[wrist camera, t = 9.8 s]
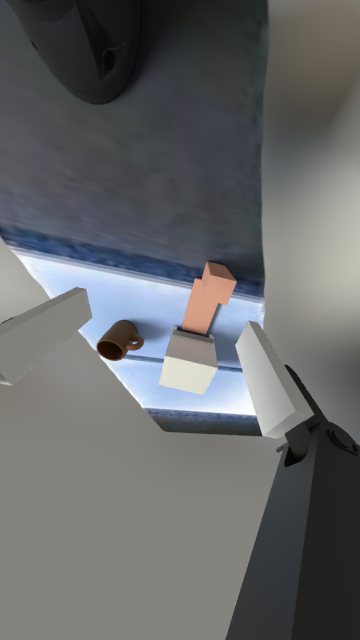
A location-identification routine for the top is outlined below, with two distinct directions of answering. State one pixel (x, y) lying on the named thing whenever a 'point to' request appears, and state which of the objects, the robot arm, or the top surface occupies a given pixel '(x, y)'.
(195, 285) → the orange l-shaped bracket
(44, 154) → the top surface
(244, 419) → the top surface
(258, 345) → the robot arm
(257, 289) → the top surface
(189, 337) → the off-white block
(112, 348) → the mug
